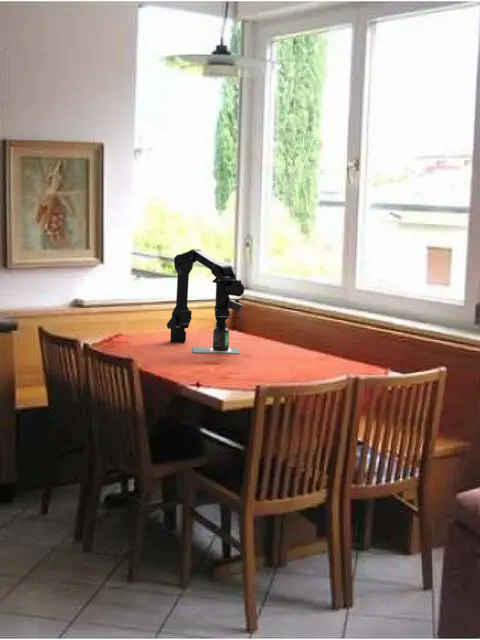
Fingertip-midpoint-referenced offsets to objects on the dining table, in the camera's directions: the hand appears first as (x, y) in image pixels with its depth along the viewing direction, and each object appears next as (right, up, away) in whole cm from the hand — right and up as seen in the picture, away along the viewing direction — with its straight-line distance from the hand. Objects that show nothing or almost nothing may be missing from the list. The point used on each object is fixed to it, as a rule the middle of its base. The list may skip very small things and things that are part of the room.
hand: (221, 330), depth 406 cm
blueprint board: (-2, -9, +1) cm, 9 cm away
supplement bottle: (0, -9, +1) cm, 9 cm away
